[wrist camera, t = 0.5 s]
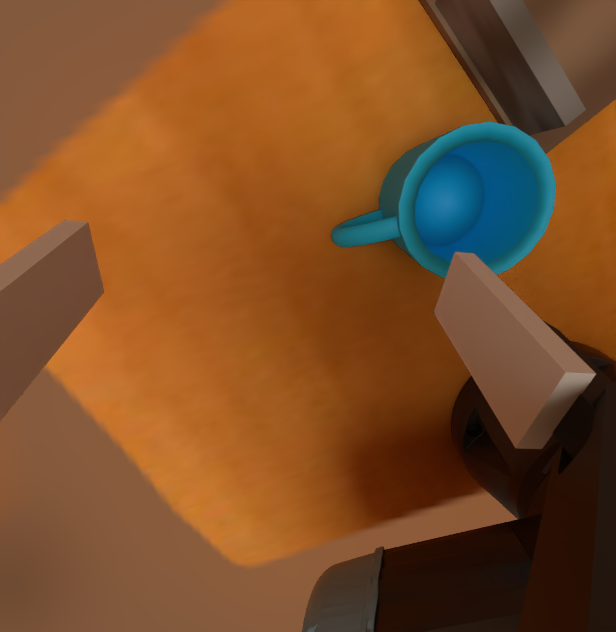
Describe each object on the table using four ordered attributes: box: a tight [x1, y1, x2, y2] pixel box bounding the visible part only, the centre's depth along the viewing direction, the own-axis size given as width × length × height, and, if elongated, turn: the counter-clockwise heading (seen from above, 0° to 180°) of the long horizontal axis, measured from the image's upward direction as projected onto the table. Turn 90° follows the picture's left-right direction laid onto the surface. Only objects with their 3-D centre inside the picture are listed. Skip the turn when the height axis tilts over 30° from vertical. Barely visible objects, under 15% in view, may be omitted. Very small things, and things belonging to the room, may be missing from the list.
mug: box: [331, 122, 556, 278], centre depth 24 cm, size 12×8×8 cm
